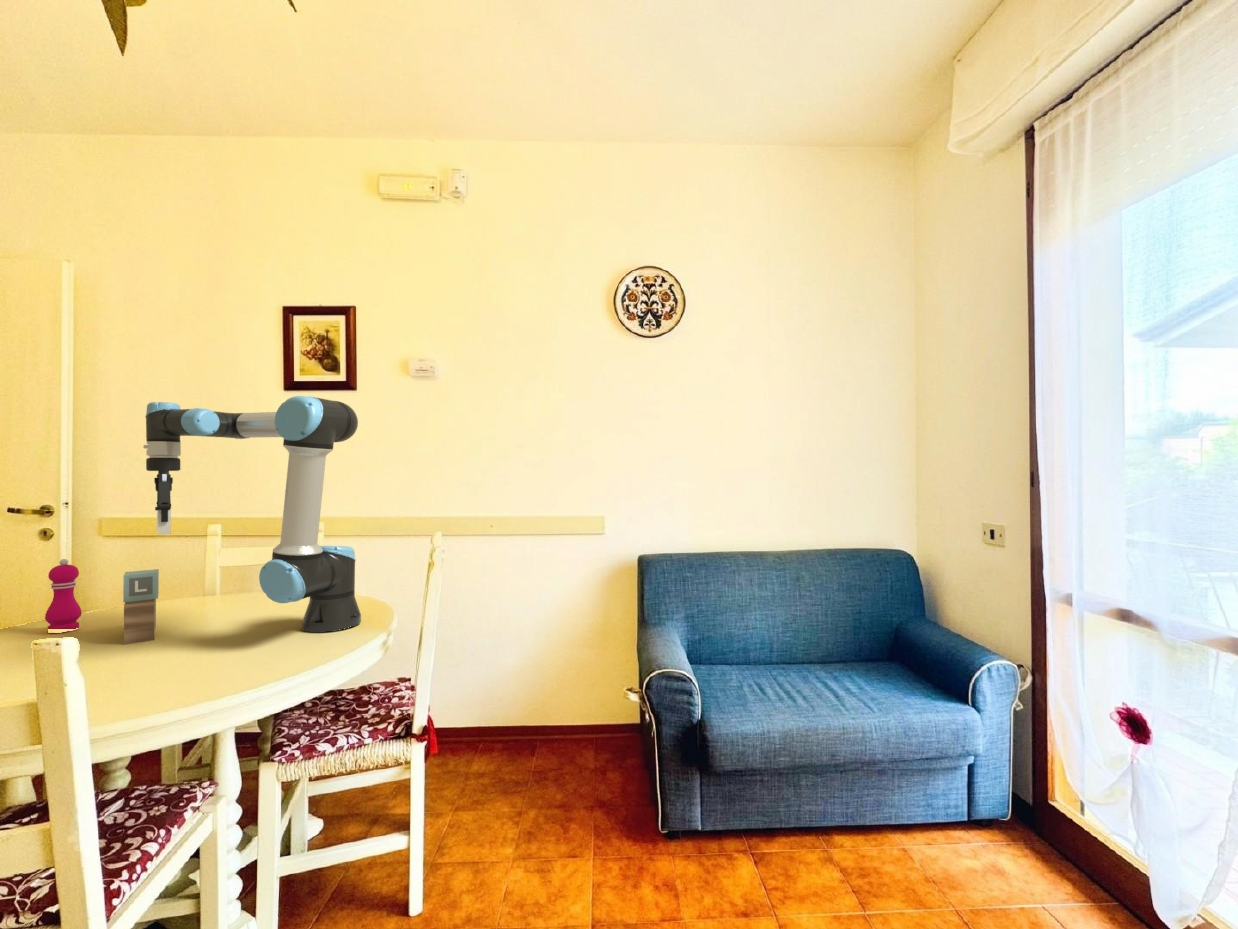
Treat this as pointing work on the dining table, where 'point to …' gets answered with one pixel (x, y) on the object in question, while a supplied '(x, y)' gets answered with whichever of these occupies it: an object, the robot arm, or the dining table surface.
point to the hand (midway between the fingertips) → (163, 532)
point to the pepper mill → (63, 597)
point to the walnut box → (139, 621)
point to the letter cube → (141, 585)
